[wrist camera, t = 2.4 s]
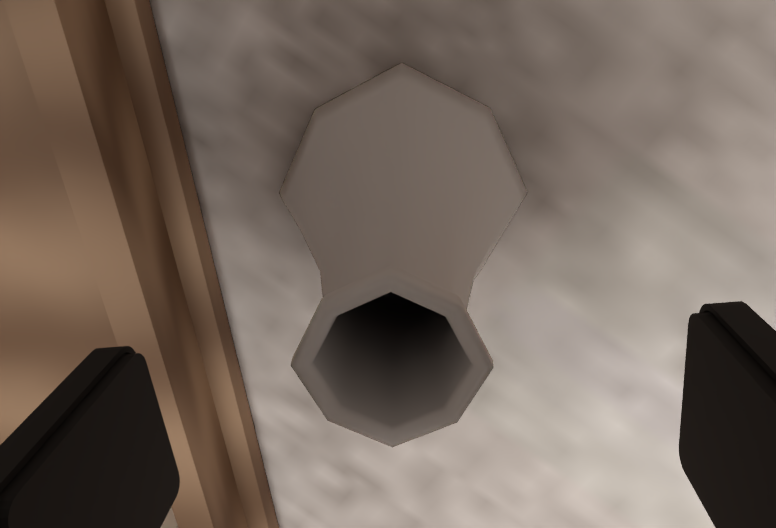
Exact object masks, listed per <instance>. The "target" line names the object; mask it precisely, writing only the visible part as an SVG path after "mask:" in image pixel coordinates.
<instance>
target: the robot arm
mask: <svg viewBox="0 0 776 528" xmlns="http://www.w3.org/2000/svg"><path fill="white" fill-rule="evenodd" d="M679 456H680V461H681V464H682V467H683V470H684V472H685V474H686V475H687V477H688V479H689V481H690V483H691V484H692V486H693V488H694V490H695V492H696V493H697V495H698V497H699V499H700V501H701V502H702V504H703V506H704V508H705V509H706V511H707V513H708V515H709V517H710V518H711V520H712V522H713V524H714V526H715V527H716V528H776V331H775V330H774V329H773V328H772V327H771V326H770V325H769V324H767V323H766V322H765V321H764V320H763V319H762V318H761V317H760V316H759V315H758V314H757V313H756V312H754V311H753V310H752V309H751V308H750V307H749V306H748V305H747V304H746V303H744V302H742V301H741V302H726V303H713V304H704V305H703V306H702V307H701V309H700V312H699V313H695V314H692V315H691V316H690V318H689V323H688V335H687V348H686V361H685V374H684V387H683V400H682V413H681V426H680V439H679ZM179 486H180V476H179V471H178V468H177V464H176V461H175V458H174V454H173V451H172V447H171V444H170V441H169V437H168V434H167V430H166V427H165V424H164V420H163V417H162V413H161V410H160V407H159V403H158V400H157V396H156V393H155V390H154V386H153V383H152V380H151V376H150V373H149V369H148V366H147V363H146V360H145V357H144V356H143V355H142V354H140V353H136V352H135V351H134V349H133V348H132V347H130V346H120V347H106V348H96V349H94V350H93V351H92V352H91V353H90V354H89V355H88V356H87V357H86V358H85V359H84V360H83V361H82V362H81V363H80V364H79V365H78V366H77V367H76V368H75V369H74V370H73V371H72V372H71V373H70V374H69V375H68V376H67V377H66V378H65V379H64V380H63V381H62V382H61V383H60V384H59V385H58V386H57V388H56V389H55V390H54V391H53V392H52V393H51V394H50V395H49V396H48V397H47V398H46V399H45V400H44V401H43V402H42V403H41V404H40V405H39V406H38V407H37V408H36V409H35V410H34V411H33V412H32V413H31V414H30V415H29V416H28V417H27V418H26V419H25V420H24V421H23V422H22V423H21V424H20V425H19V426H18V427H17V428H16V429H15V430H14V432H13V433H12V434H11V435H10V436H9V437H8V438H7V439H6V440H5V441H4V442H3V443H2V444H1V445H0V528H161V526H162V524H163V522H164V520H165V518H166V516H167V514H168V512H169V510H170V508H171V506H172V505H173V503H174V501H175V499H176V497H177V494H178V491H179Z"/></svg>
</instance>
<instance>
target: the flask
mask: <svg viewBox="0 0 776 528" xmlns="http://www.w3.org/2000/svg"><path fill="white" fill-rule="evenodd" d="M527 193H528V192H527V190H526V188H525V186H524V183H523V181H522V179H521V177H520V174H519V172H518V170H517V168H516V165H515V163H514V161H513V159H512V156H511V154H510V152H509V150H508V147H507V145H506V143H505V141H504V138H503V136H502V134H501V132H500V129H499V127H498V125H497V123H496V120H495V118H494V116H493V114H492V111H491V109H490V108H489V107H487V106H485V105H483V104H481V103H479V102H477V101H476V100H474V99H472V98H470V97H468V96H466V95H464V94H462V93H460V92H458V91H456V90H454V89H452V88H450V87H448V86H446V85H444V84H442V83H440V82H438V81H436V80H435V79H433V78H431V77H429V76H427V75H425V74H423V73H421V72H419V71H417V70H415V69H413V68H411V67H409V66H407V65H405V64H403V63H400V64H398V65H397V66H395V67H393V68H391V69H389V70H387V71H385V72H383V73H382V74H380V75H378V76H376V77H374V78H372V79H370V80H368V81H367V82H365V83H363V84H361V85H359V86H357V87H355V88H353V89H352V90H350V91H348V92H346V93H344V94H342V95H340V96H338V97H337V98H335V99H333V100H331V101H329V102H327V103H325V104H323V105H322V106H320V107H318V108H316V109H315V110H314V112H313V115H312V117H311V119H310V122H309V124H308V126H307V129H306V131H305V133H304V136H303V138H302V140H301V143H300V145H299V147H298V150H297V152H296V154H295V157H294V159H293V161H292V164H291V166H290V168H289V171H288V173H287V175H286V178H285V180H284V182H283V185H282V187H281V189H280V192H279V194H280V196H281V198H282V200H283V202H284V203H285V205H286V207H287V208H288V210H289V212H290V213H291V215H292V217H293V218H294V220H295V222H296V223H297V225H298V227H299V228H300V230H301V232H302V234H303V236H304V238H305V241H306V243H307V245H308V247H309V249H310V251H311V253H312V255H313V257H314V259H315V261H316V263H317V265H318V267H319V270H320V275H321V284H322V294H323V298H322V299H321V301H320V303H319V305H318V307H317V309H316V311H315V313H314V315H313V317H312V319H311V321H310V324H309V326H308V328H307V330H306V332H305V334H304V336H303V338H302V340H301V342H300V344H299V346H298V348H297V350H296V352H295V354H294V356H293V358H292V362H291V367H292V368H293V370H294V371H295V372H296V374H297V375H298V377H299V378H300V380H301V381H302V383H303V384H304V386H305V387H306V389H307V390H308V392H309V393H310V395H311V396H312V398H313V399H314V401H315V402H316V404H317V405H318V407H319V408H320V410H321V411H322V413H323V414H324V416H325V417H326V419H327V420H328V421H330V422H333V423H335V424H338V425H340V426H342V427H345V428H347V429H350V430H352V431H354V432H357V433H359V434H362V435H364V436H367V437H369V438H371V439H374V440H376V441H379V442H381V443H384V444H386V445H388V446H391V447H394V446H397V445H399V444H402V443H405V442H407V441H410V440H412V439H415V438H418V437H420V436H423V435H425V434H428V433H431V432H433V431H436V430H438V429H441V428H444V427H446V426H449V425H451V424H454V423H457V422H458V420H459V419H460V417H461V416H462V414H463V413H464V411H465V410H466V408H467V407H468V405H469V404H470V402H471V401H472V399H473V398H474V396H475V395H476V393H477V392H478V390H479V389H480V387H481V386H482V384H483V383H484V381H485V380H486V378H487V377H488V375H489V373H490V372H491V370H492V369H493V360H492V358H491V356H490V354H489V352H488V350H487V348H486V346H485V345H484V343H483V341H482V339H481V337H480V335H479V333H478V331H477V329H476V327H475V325H474V323H473V322H472V320H471V318H470V316H469V314H468V312H467V306H468V302H469V297H470V293H471V289H472V284H473V280H474V279H475V277H476V276H477V275H478V273H479V272H480V270H481V269H482V267H483V265H484V264H485V262H486V260H487V259H488V257H489V255H490V254H491V252H492V250H493V249H494V247H495V246H496V244H497V242H498V241H499V239H500V237H501V236H502V234H503V232H504V231H505V229H506V227H507V226H508V224H509V222H510V221H511V219H512V217H513V216H514V214H515V212H516V211H517V209H518V208H519V206H520V204H521V203H522V201H523V199H524V198H525V196H526V194H527Z"/></svg>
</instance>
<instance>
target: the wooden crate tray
mask: <svg viewBox="0 0 776 528" xmlns="http://www.w3.org/2000/svg"><path fill="white" fill-rule="evenodd" d="M120 346H130V347H132V348H133V349H134V351H135V352H136V353H140V354H142V355H143V356H144V357H145V360H146V363H147V366H148V369H149V373H150V376H151V380H152V383H153V386H154V390H155V393H156V396H157V400H158V403H159V407H160V410H161V413H162V417H163V420H164V424H165V427H166V430H167V434H168V437H169V441H170V444H171V447H172V451H173V454H174V458H175V461H176V464H177V468H178V471H179V476H180V486H179V491H178V494H177V497H176V499H175V501H174V503H173V505H172V506H171V507H172V510H173V513H174V516H175V519H176V522H177V525H178V528H279V526H278V522H277V518H276V514H275V510H274V506H273V502H272V498H271V494H270V490H269V486H268V482H267V477H266V473H265V469H264V465H263V461H262V457H261V453H260V449H259V445H258V441H257V437H256V433H255V429H254V425H253V421H252V417H251V412H250V408H249V404H248V400H247V396H246V392H245V388H244V384H243V380H242V376H241V372H240V368H239V364H238V360H237V356H236V352H235V347H234V343H233V339H232V335H231V331H230V327H229V323H228V319H227V315H226V311H225V307H224V303H223V299H222V295H221V291H220V286H219V282H218V278H217V274H216V270H215V266H214V262H213V258H212V254H211V250H210V246H209V242H208V238H207V234H206V230H205V226H204V221H203V217H202V213H201V209H200V205H199V201H198V197H197V193H196V189H195V185H194V181H193V177H192V173H191V169H190V165H189V160H188V156H187V152H186V148H185V144H184V140H183V136H182V132H181V128H180V124H179V120H178V116H177V112H176V108H175V104H174V100H173V95H172V91H171V87H170V83H169V79H168V75H167V71H166V67H165V63H164V59H163V55H162V51H161V47H160V43H159V39H158V34H157V30H156V26H155V22H154V18H153V14H152V10H151V6H150V2H149V0H0V445H1V444H2V443H3V442H4V441H5V440H6V439H7V438H8V437H9V436H10V435H11V434H12V433H13V432H14V430H15V429H16V428H17V427H18V426H19V425H20V424H21V423H22V422H23V421H24V420H25V419H26V418H27V417H28V416H29V415H30V414H31V413H32V412H33V411H34V410H35V409H36V408H37V407H38V406H39V405H40V404H41V403H42V402H43V401H44V400H45V399H46V398H47V397H48V396H49V395H50V394H51V393H52V392H53V391H54V390H55V389H56V388H57V386H58V385H59V384H60V383H61V382H62V381H63V380H64V379H65V378H66V377H67V376H68V375H69V374H70V373H71V372H72V371H73V370H74V369H75V368H76V367H77V366H78V365H79V364H80V363H81V362H82V361H83V360H84V359H85V358H86V357H87V356H88V355H89V354H90V353H91V352H92V351H93V350H94V349H96V348H106V347H120Z"/></svg>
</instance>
